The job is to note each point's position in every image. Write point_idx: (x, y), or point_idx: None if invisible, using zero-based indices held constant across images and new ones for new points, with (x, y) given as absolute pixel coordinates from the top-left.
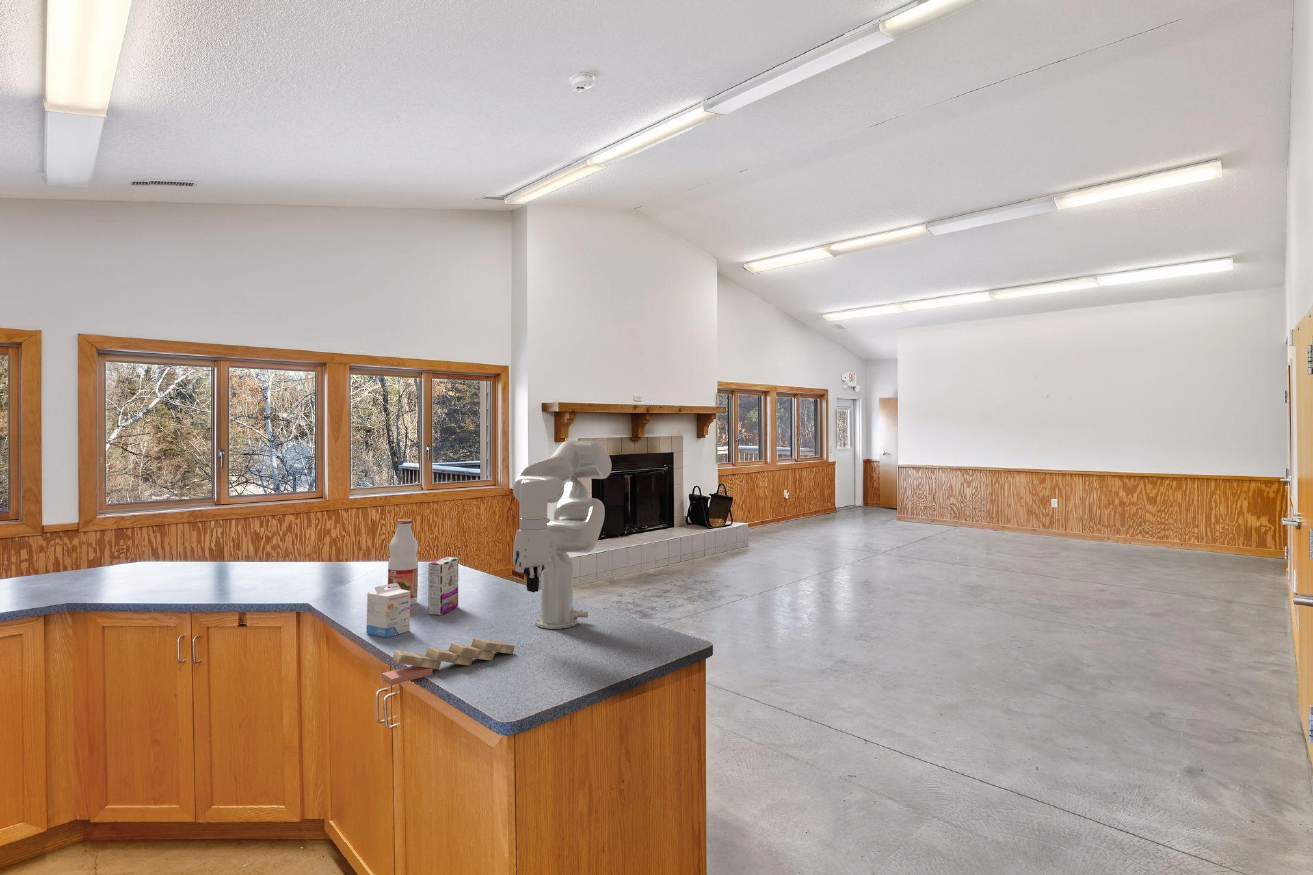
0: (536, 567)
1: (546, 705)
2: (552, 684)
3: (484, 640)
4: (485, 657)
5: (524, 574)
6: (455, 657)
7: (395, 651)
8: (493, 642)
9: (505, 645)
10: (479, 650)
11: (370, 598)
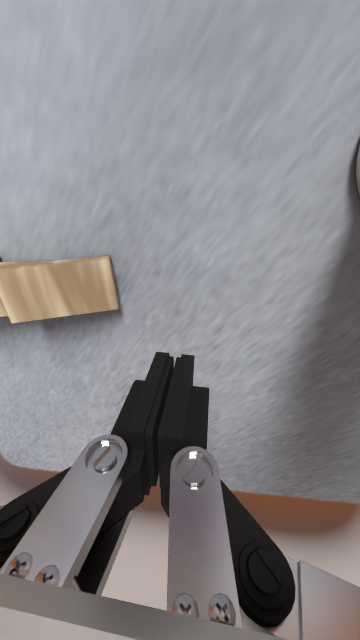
0: (219, 562)
1: (58, 466)
2: None
3: (24, 289)
4: None
5: (67, 469)
6: None
7: None
8: (50, 302)
9: (85, 312)
10: (7, 315)
11: None
